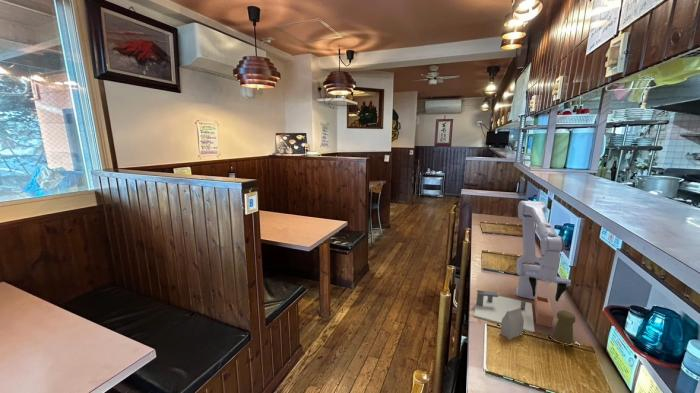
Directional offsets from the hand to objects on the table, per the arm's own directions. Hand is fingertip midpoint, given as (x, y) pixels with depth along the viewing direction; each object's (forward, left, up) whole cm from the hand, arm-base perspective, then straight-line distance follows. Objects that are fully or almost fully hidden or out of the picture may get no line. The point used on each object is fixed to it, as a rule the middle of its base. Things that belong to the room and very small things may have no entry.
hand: (544, 297), depth 115 cm
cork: (+14, +5, -8) cm, 17 cm away
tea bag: (+19, -11, -9) cm, 23 cm away
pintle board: (+3, -14, -8) cm, 17 cm away
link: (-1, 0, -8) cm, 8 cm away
